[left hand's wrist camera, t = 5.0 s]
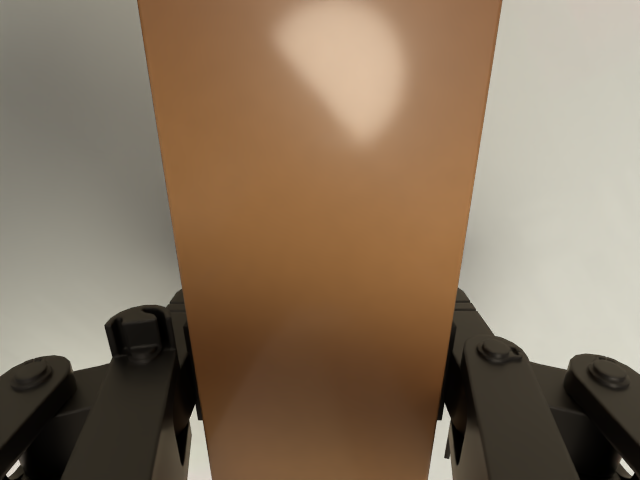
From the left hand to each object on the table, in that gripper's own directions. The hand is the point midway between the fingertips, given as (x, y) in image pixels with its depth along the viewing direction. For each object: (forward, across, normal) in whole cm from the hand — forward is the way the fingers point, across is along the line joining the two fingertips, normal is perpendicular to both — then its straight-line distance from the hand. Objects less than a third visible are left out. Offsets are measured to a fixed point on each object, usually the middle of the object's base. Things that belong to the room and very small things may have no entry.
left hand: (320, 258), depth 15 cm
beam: (+1, 0, -20) cm, 20 cm away
